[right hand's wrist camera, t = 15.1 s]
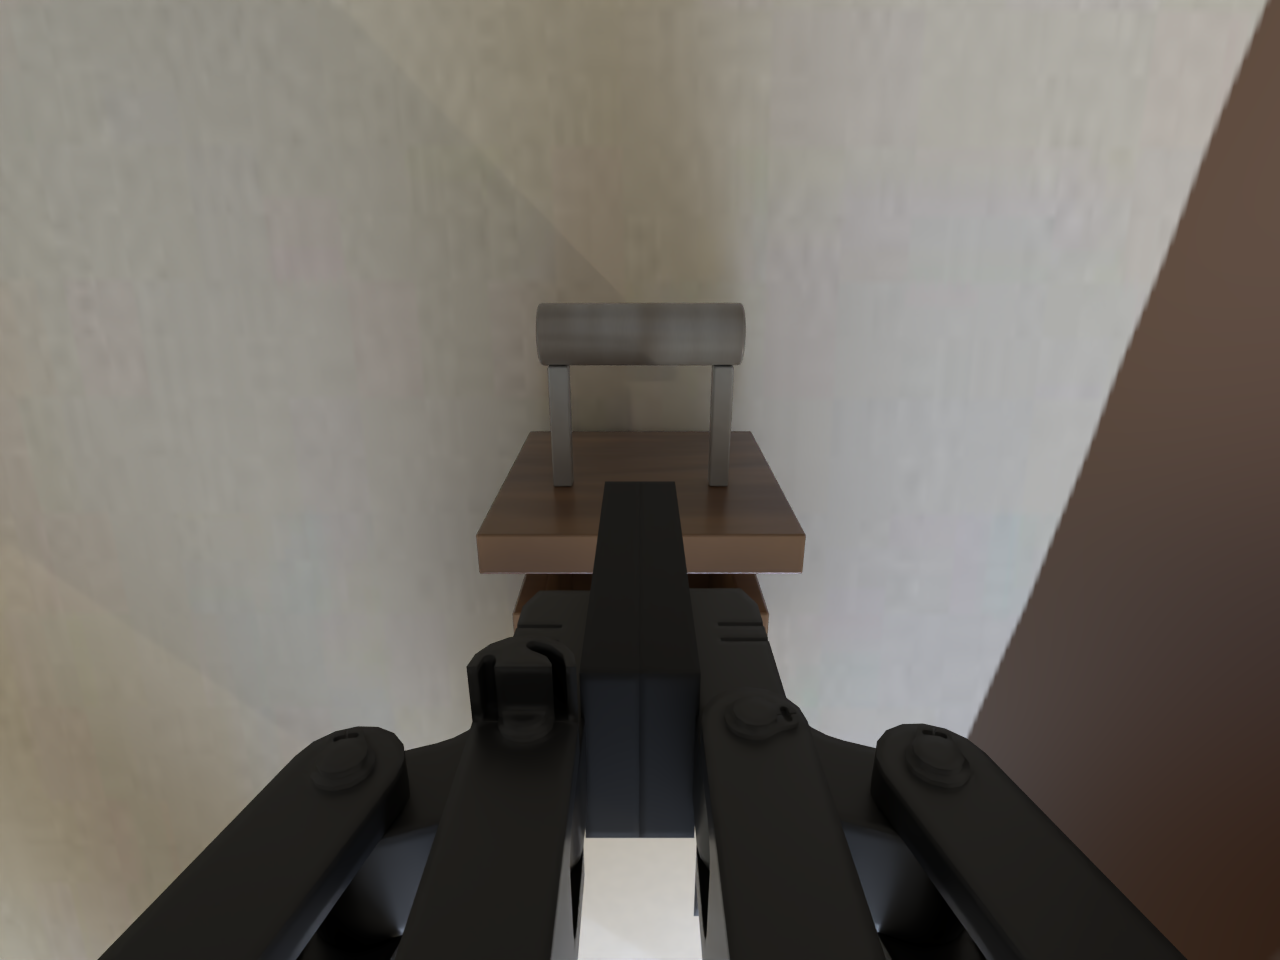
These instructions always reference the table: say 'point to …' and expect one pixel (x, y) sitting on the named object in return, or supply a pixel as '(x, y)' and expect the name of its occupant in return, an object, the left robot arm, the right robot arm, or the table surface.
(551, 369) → the drawer
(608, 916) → the cabinet
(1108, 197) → the table surface
